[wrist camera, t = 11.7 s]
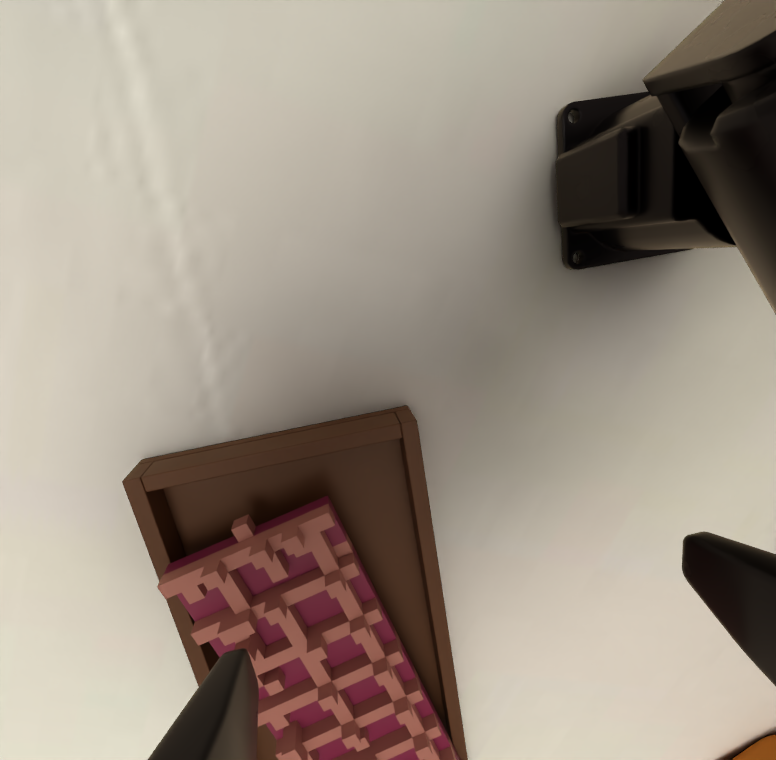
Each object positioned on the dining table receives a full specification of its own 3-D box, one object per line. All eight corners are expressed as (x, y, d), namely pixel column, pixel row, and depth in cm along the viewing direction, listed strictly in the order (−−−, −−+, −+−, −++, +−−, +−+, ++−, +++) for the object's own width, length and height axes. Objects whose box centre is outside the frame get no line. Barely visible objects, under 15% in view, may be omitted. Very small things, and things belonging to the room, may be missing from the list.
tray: (407, 404, 20) (416, 419, 18) (463, 764, 27) (474, 803, 25) (141, 459, 19) (121, 481, 17) (269, 822, 26) (265, 867, 24)
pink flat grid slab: (321, 482, 18) (321, 508, 16) (462, 763, 24) (474, 806, 22) (159, 552, 18) (141, 586, 16) (341, 819, 24) (343, 867, 22)
